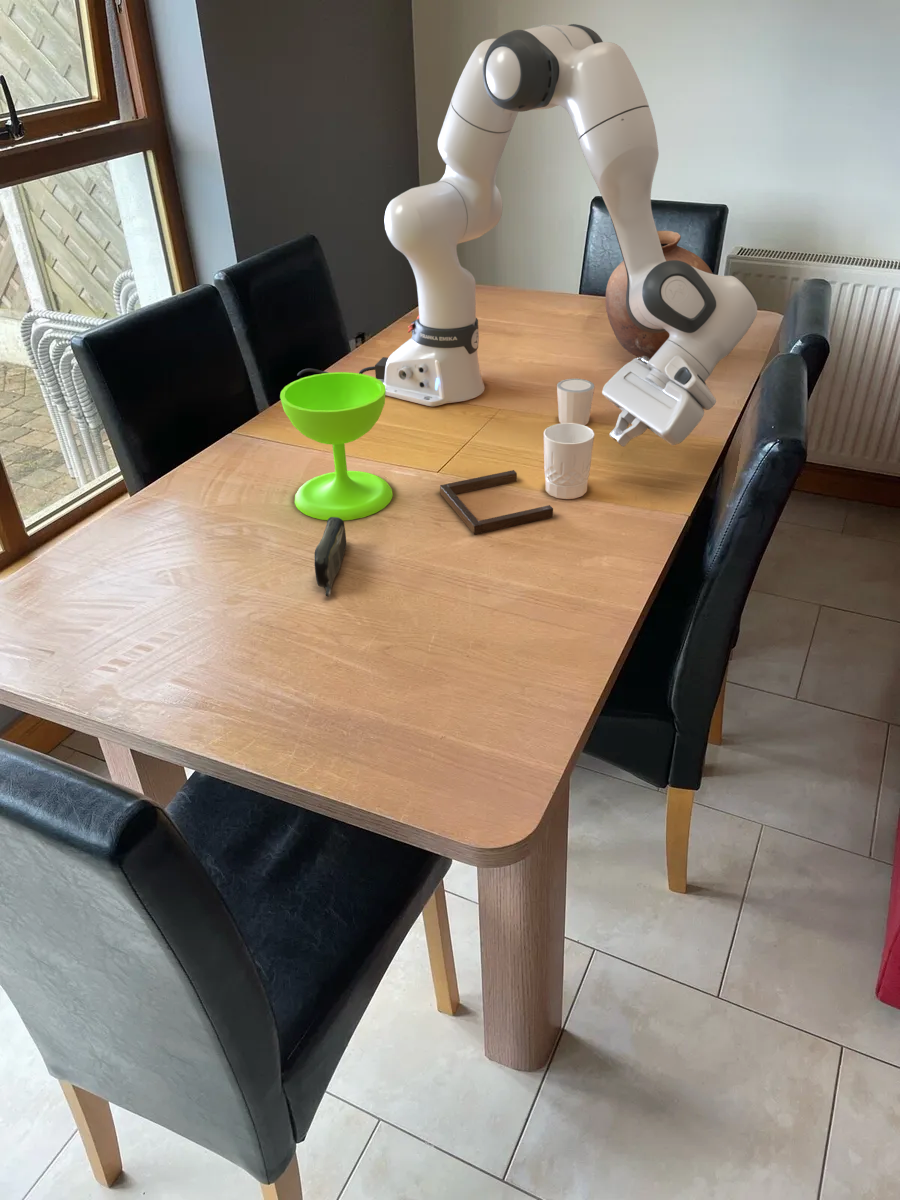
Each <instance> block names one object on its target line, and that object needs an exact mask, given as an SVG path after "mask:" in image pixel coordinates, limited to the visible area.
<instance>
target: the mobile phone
mask: <svg viewBox="0 0 900 1200" xmlns="http://www.w3.org/2000/svg"><path fill="white" fill-rule="evenodd" d="M346 534H347V533H346V526H345V522H344V521H343V520H342V519H340V518H338V517H330V518H329V519H328V520H326V526H325V529H324V531H323V535H322V538H321V539H320V540H319V542H318V545H317V546H316V547H315V550H314V572H315V581H316V584H317V586H318V587H320V588H325V593H324V594H325V597H327V598H329V597H330V596H331V594H332V593H331V592H332V587H333V583H334V580H335V578H336V576H337V575H338V573H339V572H340V569H341V566H342V562H343V559H344V555H345V552H346V548H347V536H346Z"/></svg>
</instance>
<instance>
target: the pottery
mask: <svg viewBox="0 0 900 1200" xmlns="http://www.w3.org/2000/svg"><path fill="white" fill-rule="evenodd" d="M657 233H658V236H659V240H660V243H661V247H662V251H663V254H664V257H665V260H666V261H670V260H678V261H682V262H685V263H687V264H689V265H690V266H693V267H695V268H697V269H699V270H701V271H704V272H707V273H710V274H714V273H713V272H712V270H711V268H710V267H709V265H708V264H707V263H706V262H705V261H704V260H703V259H702V258H701V257H700V256H699V255H698V254H695V253H694V252H692V251H690V250H689V249H686V248H684V247H681V246H680V245H678V244H679V243H680V241H681V238H682V236H681V235H680V233H679V232H677V231H675V232H674V231H672V230H657ZM609 276H610V277H609V278H608V281H607V285H606V287H605V288H606V289H605V299H604V300H605V301H604V302H605V313H606V315H607V319H608V322H609V324H610V327H611V329H612V331H613V333H614V336H615V338H616V340H617V342H618V343H619V344H620V346H621V347H622V348H623V349H624V350H626V351H627V352H628V353H630V354H632V355H634V356H636V357H637V358H638V357H642V356H646V357H648V358H649V359H651V358H652V357H653V356H654V354H655V353H656V352H657V351H658V350H659V349H660V347H661V346H662V345H663V344H664V343H665V342H666V340H667V339H668V338H669V336H670V335H669V333H668V332H667V331H665V332H662V333H649V332H646V331H643V330H641V329H640V328H638V327H637V326H636V325H635V324H634V323H633V322H632V321H631V319H630V317H629V315H628V313H627V309H626V292H627V272H626V267H625V264H624V260H623V259H622V261H621V262H620V263H618V265H617V266H616V268H615V269H614V270H613V271H612V273H611V274H610V275H609Z"/></svg>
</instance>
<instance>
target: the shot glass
mask: <svg viewBox="0 0 900 1200" xmlns="http://www.w3.org/2000/svg"><path fill="white" fill-rule="evenodd" d="M556 392H557V393H556V394H557V395H556V396H557V411H558V413H557V414H558V422H559V424H560V423H576V424H581V425H584V426H586V425H587V424H588V423H589V421H590V417H591V411H592V404H593V398H594V392H595V384H594V382H592V381H590V380H588V379H583V378H566V379H562V380H560V381H558V382H557V384H556Z"/></svg>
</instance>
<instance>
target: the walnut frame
mask: <svg viewBox="0 0 900 1200" xmlns="http://www.w3.org/2000/svg"><path fill="white" fill-rule="evenodd" d="M517 481H518V472H517V471H515V469H513V470H508V471H507V470H506V471H502V472H498V473H493V474H492V473H491V474H488V475H482V476H479V477H474V478H473V477H472V478H469V479H464V480H459V481H454V482H449V483H446V484H445V483H444V484H440V485H439V495H440V496H441V497H442V498H443V499H444V500H445V502H446V503H447V504H448V505H449V506H450V508H451V509H452V510H453V511H454V512H455V513H456V514H457V516H458V517H459V518H460V519H461V521H462V522H463V523H464V524H465V526H466V527H467V528H468V529H469V530H470V531H471V533H472V534H473V535H474V536H475V535H480V534H484V533H488V532H493V531H498V530H503V529H507V528H510V527H515V526H520V525H525V524H529V523H533V522H538V521H542V520H546V519H552V518H553V517H554V507H553V506H552V505H550V504H548V505H543V506H540V507H535V508H530V509H525V510H522V511H517V512H516V511H515V512H513V513H508V514H503V515H499V516H494V517H489V518H485V519H480V520H479V519H478V518H477V517H476V516H475V515H474V514H473V513H472V512H471V510H470V509H469V508H468V507H467V506H466V505H465V503H464V502H463V501H462V500H461V499H460V497H459V496H458V495H460V494H464V493H469V492H473V491H478V490H482V489H489V488H491V487H492V488H493V487H498V486H502V485H506V484H512V483H515V482H517Z"/></svg>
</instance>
